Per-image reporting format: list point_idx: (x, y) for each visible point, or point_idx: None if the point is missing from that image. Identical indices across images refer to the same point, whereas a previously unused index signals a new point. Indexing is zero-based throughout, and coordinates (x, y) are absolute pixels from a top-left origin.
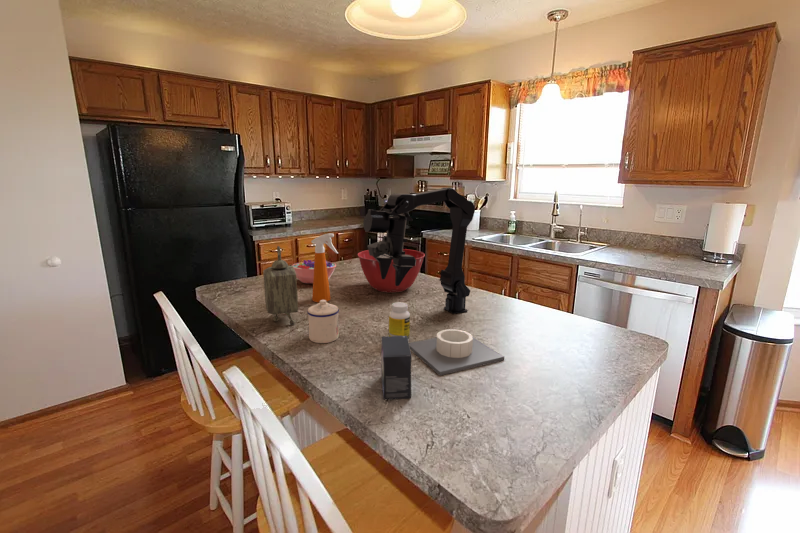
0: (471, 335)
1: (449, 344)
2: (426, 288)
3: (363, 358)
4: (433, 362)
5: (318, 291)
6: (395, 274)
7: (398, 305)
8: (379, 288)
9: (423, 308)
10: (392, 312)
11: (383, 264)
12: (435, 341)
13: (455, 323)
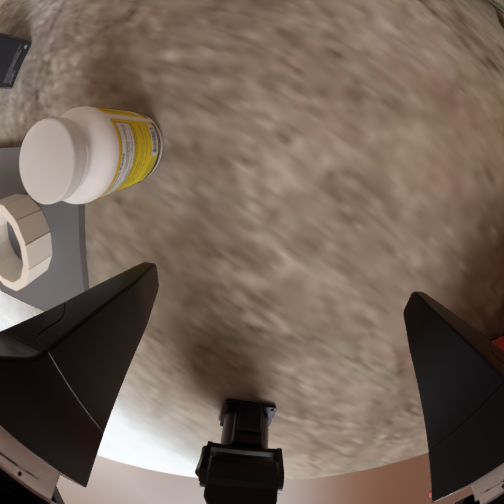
0: (2, 282)
1: None
2: (409, 430)
3: (101, 15)
4: (3, 156)
5: None
6: (79, 316)
7: (37, 149)
8: (494, 341)
9: (318, 374)
10: (71, 118)
11: (478, 402)
12: (62, 228)
13: (166, 363)
